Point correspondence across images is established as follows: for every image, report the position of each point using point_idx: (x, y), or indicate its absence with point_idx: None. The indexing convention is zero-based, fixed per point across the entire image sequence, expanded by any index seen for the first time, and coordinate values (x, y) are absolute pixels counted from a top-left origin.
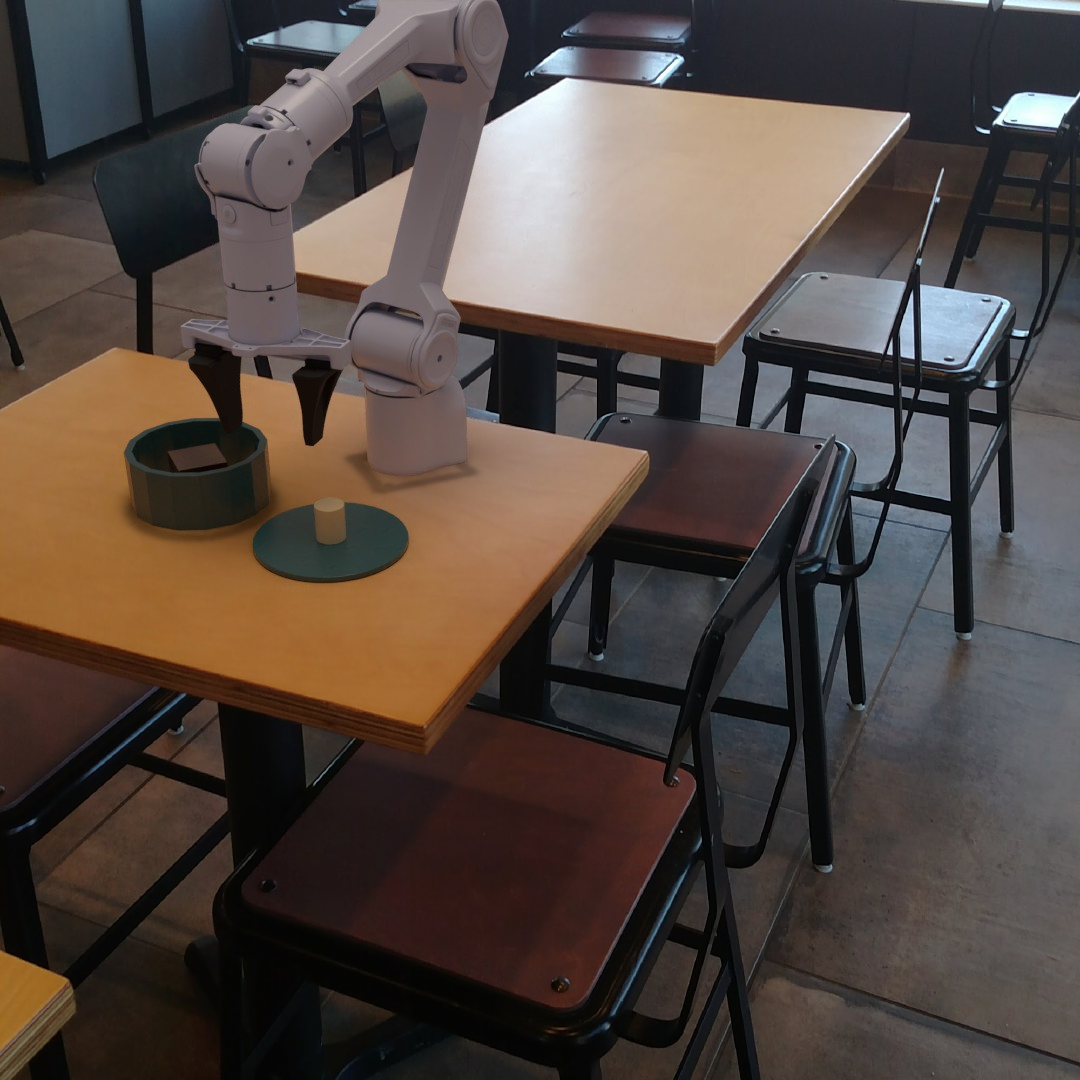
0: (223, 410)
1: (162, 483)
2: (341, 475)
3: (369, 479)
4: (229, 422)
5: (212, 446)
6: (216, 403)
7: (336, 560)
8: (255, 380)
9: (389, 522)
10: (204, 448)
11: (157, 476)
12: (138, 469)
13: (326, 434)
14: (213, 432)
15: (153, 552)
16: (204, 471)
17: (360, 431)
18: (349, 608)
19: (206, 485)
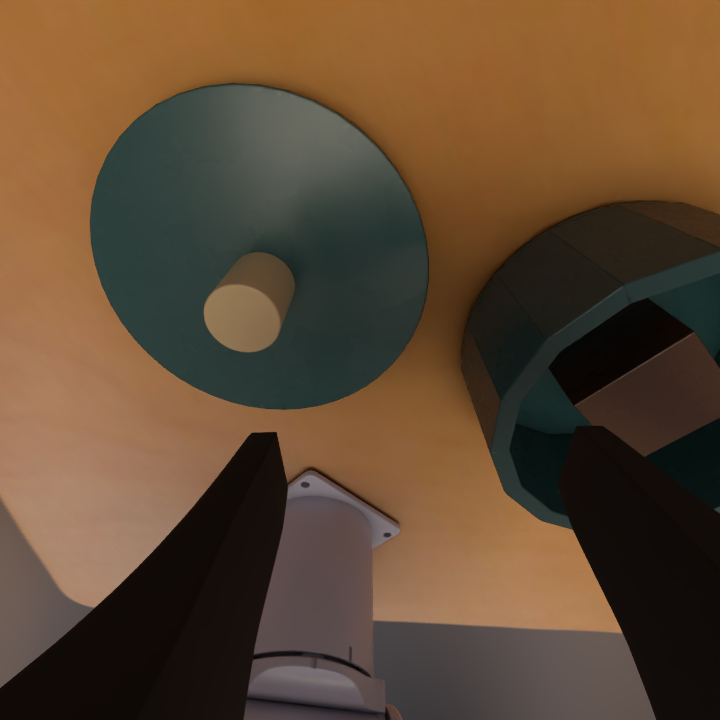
0: (651, 494)
1: None
2: (393, 483)
3: (346, 485)
4: (599, 459)
5: None
6: (709, 520)
7: (189, 195)
8: (620, 629)
9: (200, 371)
10: (649, 439)
11: None
12: None
13: (469, 558)
14: None
15: (653, 111)
16: (620, 363)
17: (426, 573)
18: (71, 43)
19: (590, 282)
